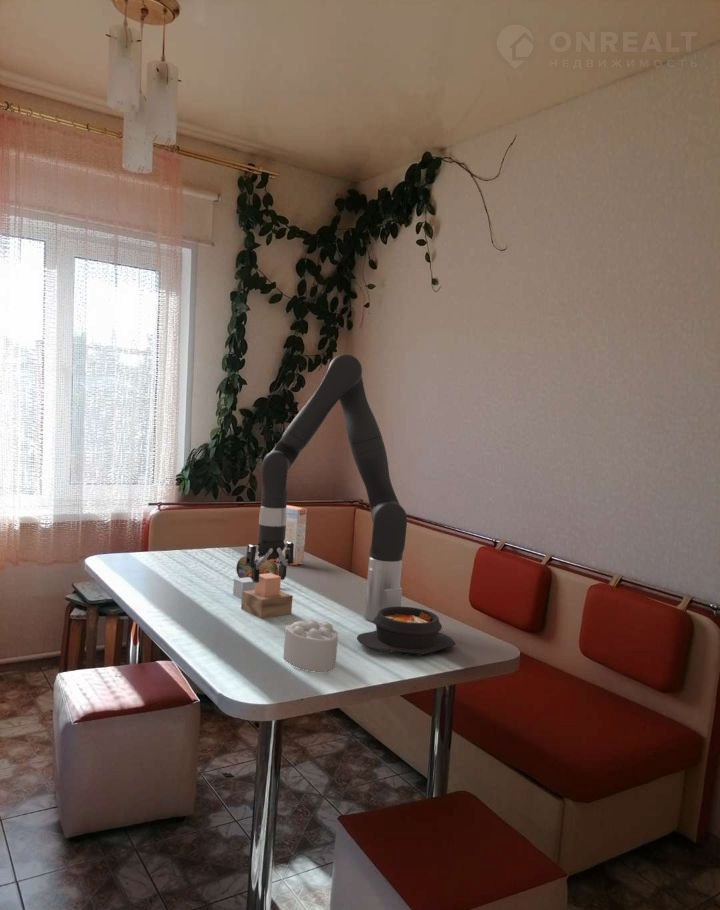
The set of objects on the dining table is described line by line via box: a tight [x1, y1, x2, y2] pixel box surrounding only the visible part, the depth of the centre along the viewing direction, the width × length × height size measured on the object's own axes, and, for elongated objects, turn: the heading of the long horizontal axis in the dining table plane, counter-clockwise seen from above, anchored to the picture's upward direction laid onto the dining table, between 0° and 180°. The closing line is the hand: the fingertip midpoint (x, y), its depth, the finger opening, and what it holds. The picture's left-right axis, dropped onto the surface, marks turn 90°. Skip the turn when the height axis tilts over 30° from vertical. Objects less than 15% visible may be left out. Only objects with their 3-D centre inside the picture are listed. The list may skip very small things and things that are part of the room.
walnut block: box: [240, 590, 294, 619], centre depth 198 cm, size 10×10×5 cm
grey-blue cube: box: [232, 577, 255, 600], centre depth 212 cm, size 5×5×5 cm
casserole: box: [356, 606, 456, 656], centre depth 176 cm, size 25×19×8 cm
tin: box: [235, 555, 279, 578], centre depth 228 cm, size 15×3×8 cm, turn 62°
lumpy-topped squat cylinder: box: [282, 619, 339, 673], centre depth 161 cm, size 10×13×9 cm
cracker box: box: [271, 504, 308, 566], centre depth 262 cm, size 14×6×21 cm, turn 58°
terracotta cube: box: [255, 573, 282, 597], centre depth 197 cm, size 5×5×5 cm
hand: (268, 580), depth 197 cm, fingers open, 8 cm apart
